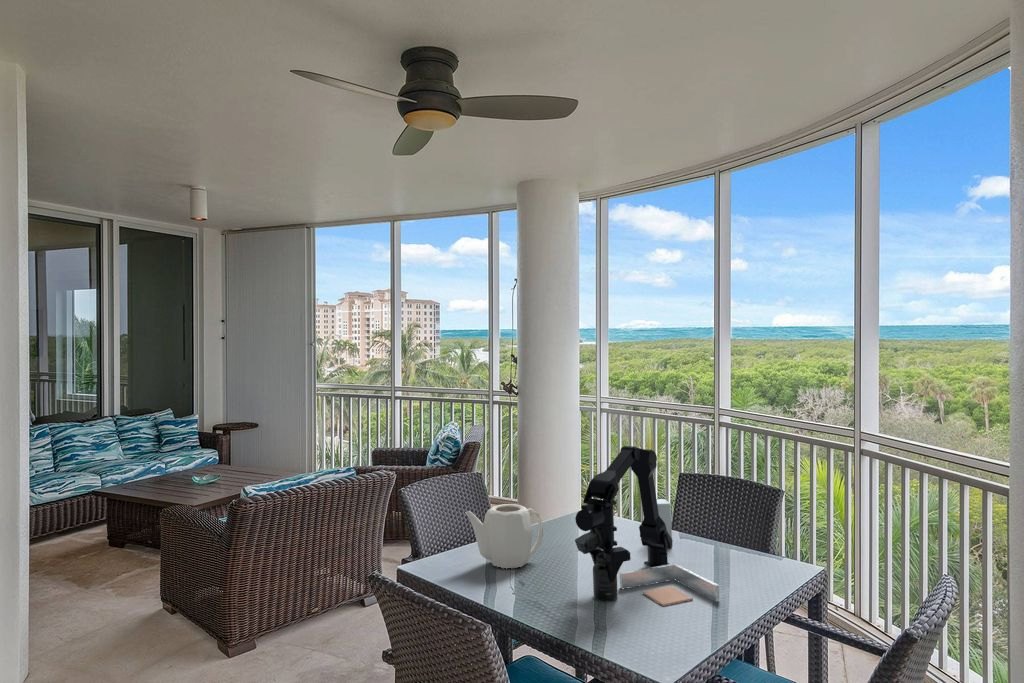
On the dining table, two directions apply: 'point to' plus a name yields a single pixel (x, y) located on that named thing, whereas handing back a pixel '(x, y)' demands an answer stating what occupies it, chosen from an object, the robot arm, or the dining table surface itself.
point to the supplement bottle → (603, 581)
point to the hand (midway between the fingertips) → (605, 577)
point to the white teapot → (506, 535)
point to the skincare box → (665, 514)
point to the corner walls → (670, 573)
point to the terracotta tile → (667, 595)
